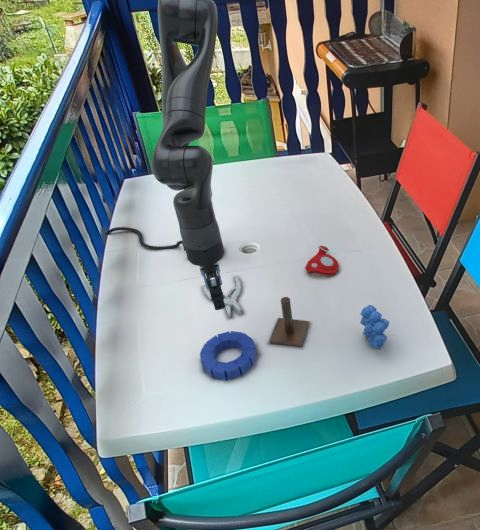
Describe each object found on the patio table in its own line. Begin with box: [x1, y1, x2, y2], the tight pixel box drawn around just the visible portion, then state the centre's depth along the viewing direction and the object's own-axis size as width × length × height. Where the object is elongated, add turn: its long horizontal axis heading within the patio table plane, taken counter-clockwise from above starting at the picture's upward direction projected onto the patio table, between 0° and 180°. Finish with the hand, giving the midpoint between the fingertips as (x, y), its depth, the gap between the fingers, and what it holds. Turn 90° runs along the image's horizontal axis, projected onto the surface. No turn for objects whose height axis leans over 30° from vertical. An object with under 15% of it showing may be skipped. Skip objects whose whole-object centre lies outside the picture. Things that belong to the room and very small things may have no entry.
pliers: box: [202, 275, 243, 319], centre depth 133 cm, size 10×2×15 cm
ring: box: [199, 330, 258, 381], centre depth 117 cm, size 12×12×3 cm
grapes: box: [359, 304, 390, 350], centre depth 119 cm, size 12×7×12 cm, turn 23°
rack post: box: [268, 296, 310, 347], centre depth 121 cm, size 8×8×12 cm
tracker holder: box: [304, 244, 340, 276], centre depth 144 cm, size 12×4×10 cm
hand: (217, 296), depth 112 cm, fingers open, 8 cm apart
